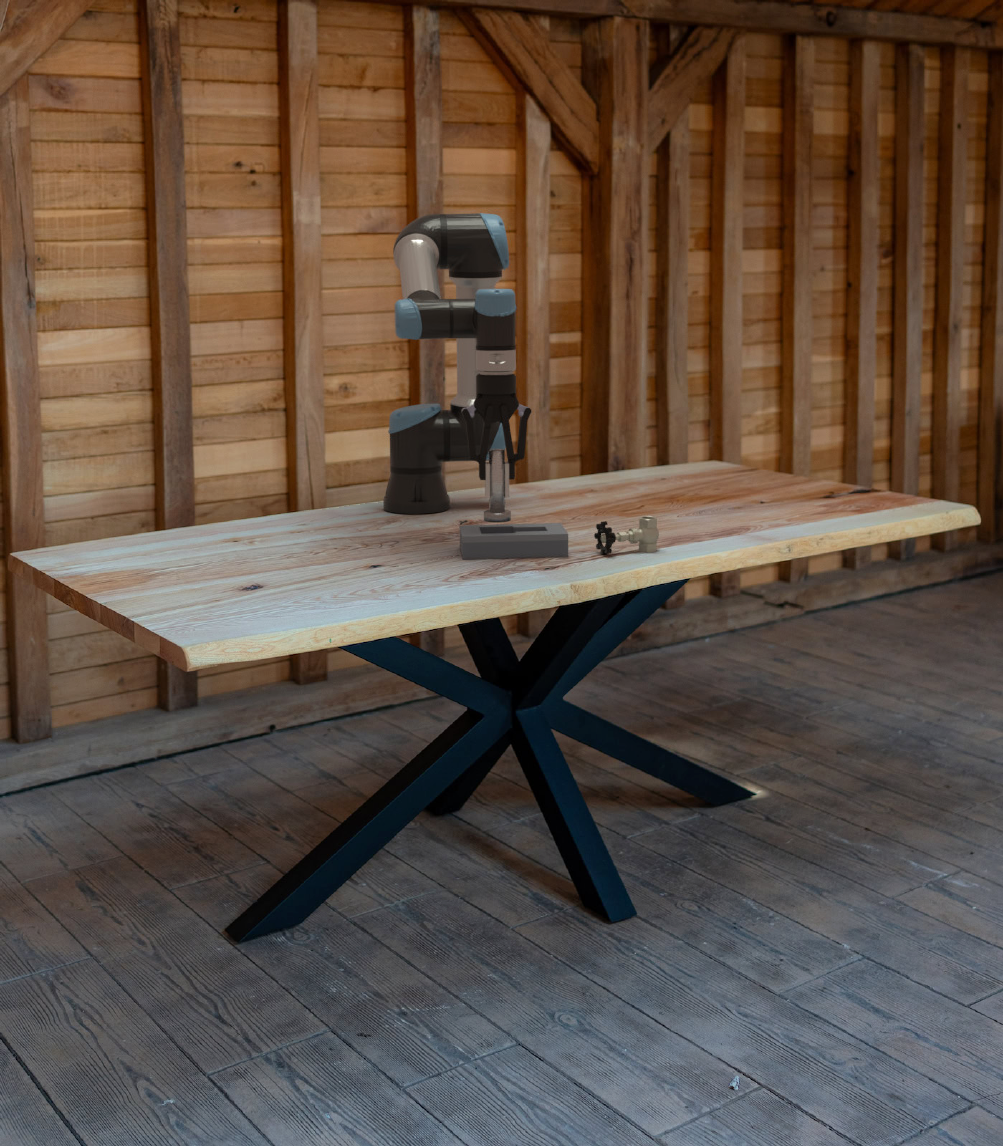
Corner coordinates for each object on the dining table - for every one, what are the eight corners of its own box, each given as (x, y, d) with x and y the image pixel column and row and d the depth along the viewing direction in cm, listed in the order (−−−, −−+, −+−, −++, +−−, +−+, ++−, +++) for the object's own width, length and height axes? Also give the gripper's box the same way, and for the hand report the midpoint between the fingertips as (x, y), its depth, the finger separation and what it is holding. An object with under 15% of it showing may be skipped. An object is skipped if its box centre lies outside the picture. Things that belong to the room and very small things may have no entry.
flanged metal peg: (478, 520, 258) (477, 450, 255) (495, 516, 262) (494, 447, 259) (499, 523, 255) (499, 452, 252) (516, 519, 259) (515, 449, 256)
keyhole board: (463, 559, 254) (462, 536, 253) (459, 547, 265) (459, 525, 264) (568, 556, 256) (568, 533, 255) (560, 544, 267) (560, 522, 266)
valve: (649, 547, 265) (593, 552, 261) (650, 514, 263) (594, 518, 259) (665, 553, 259) (608, 559, 255) (666, 519, 257) (609, 524, 253)
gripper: (454, 375, 248) (456, 501, 253) (540, 373, 250) (541, 499, 255) (452, 372, 256) (454, 494, 261) (536, 370, 257) (536, 492, 262)
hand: (497, 496), depth 258 cm, fingers closed on flanged metal peg, 3 cm apart
